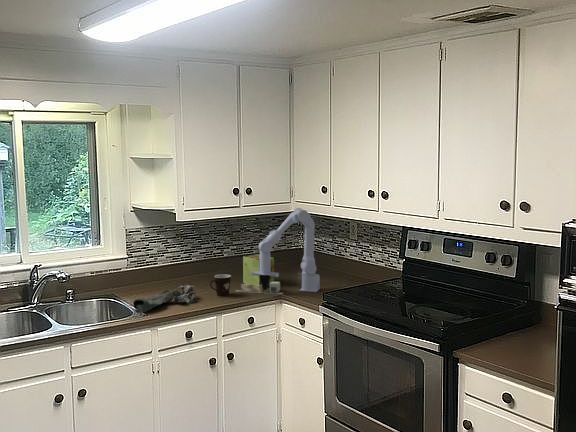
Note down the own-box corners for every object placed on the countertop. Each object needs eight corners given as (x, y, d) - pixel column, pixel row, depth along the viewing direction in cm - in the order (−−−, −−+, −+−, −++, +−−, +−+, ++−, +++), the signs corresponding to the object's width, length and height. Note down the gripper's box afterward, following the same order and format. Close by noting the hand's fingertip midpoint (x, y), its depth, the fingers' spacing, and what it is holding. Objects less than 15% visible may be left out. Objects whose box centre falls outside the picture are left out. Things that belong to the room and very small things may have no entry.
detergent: (147, 314, 290) (184, 301, 311) (146, 299, 290) (183, 287, 310) (128, 312, 298) (165, 300, 318) (126, 298, 297) (164, 286, 317)
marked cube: (280, 290, 335) (280, 282, 335) (277, 292, 331) (277, 283, 330) (272, 289, 337) (272, 281, 336) (269, 291, 332) (269, 283, 332)
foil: (164, 296, 311) (183, 275, 319) (174, 311, 316) (193, 291, 325) (178, 299, 303) (198, 278, 311) (189, 315, 308) (208, 293, 317)
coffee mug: (229, 292, 331) (228, 273, 330) (232, 296, 323) (232, 277, 322) (207, 294, 327) (207, 275, 326) (210, 298, 319) (210, 279, 318)
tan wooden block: (263, 291, 331) (263, 284, 330) (262, 292, 328) (261, 285, 327) (242, 289, 334) (242, 282, 333) (240, 291, 331) (240, 284, 331)
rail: (283, 293, 327) (283, 292, 327) (282, 294, 326) (282, 293, 326) (236, 290, 334) (236, 289, 334) (235, 291, 332) (235, 290, 332)
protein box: (259, 288, 340) (259, 260, 338) (242, 283, 351) (242, 256, 349) (274, 285, 346) (274, 257, 344) (257, 280, 358) (257, 253, 356)
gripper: (249, 264, 325) (249, 290, 327) (276, 266, 321) (276, 292, 323) (253, 262, 332) (253, 287, 334) (279, 263, 328) (280, 288, 330)
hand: (265, 289), depth 329 cm, fingers closed
